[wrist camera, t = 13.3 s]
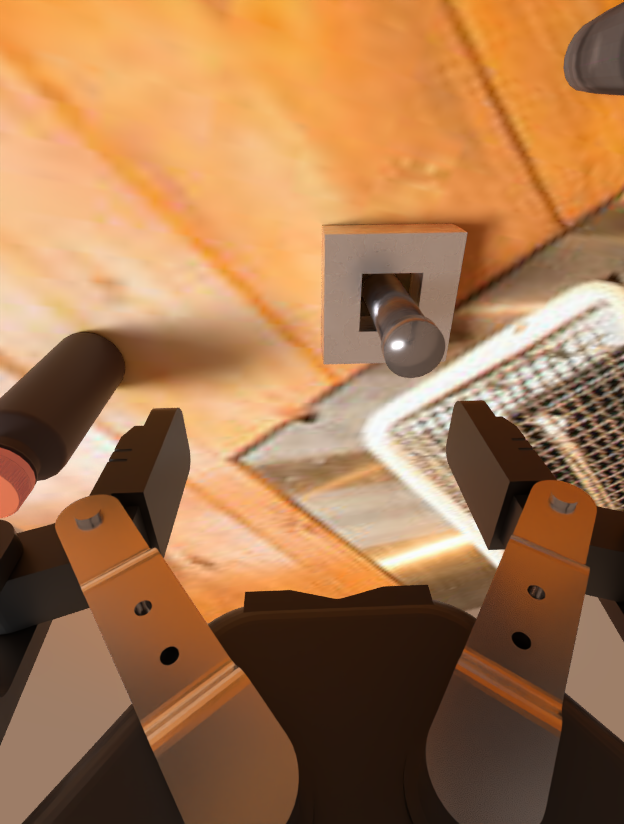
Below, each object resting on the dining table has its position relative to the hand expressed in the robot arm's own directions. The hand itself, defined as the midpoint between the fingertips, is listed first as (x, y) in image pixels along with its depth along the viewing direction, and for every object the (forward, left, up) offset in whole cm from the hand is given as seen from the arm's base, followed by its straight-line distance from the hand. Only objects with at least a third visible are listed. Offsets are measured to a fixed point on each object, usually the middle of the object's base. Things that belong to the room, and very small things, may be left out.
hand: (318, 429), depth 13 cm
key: (+6, +8, -32) cm, 34 cm away
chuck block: (+6, +8, -32) cm, 34 cm away
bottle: (+13, -22, -32) cm, 41 cm away
